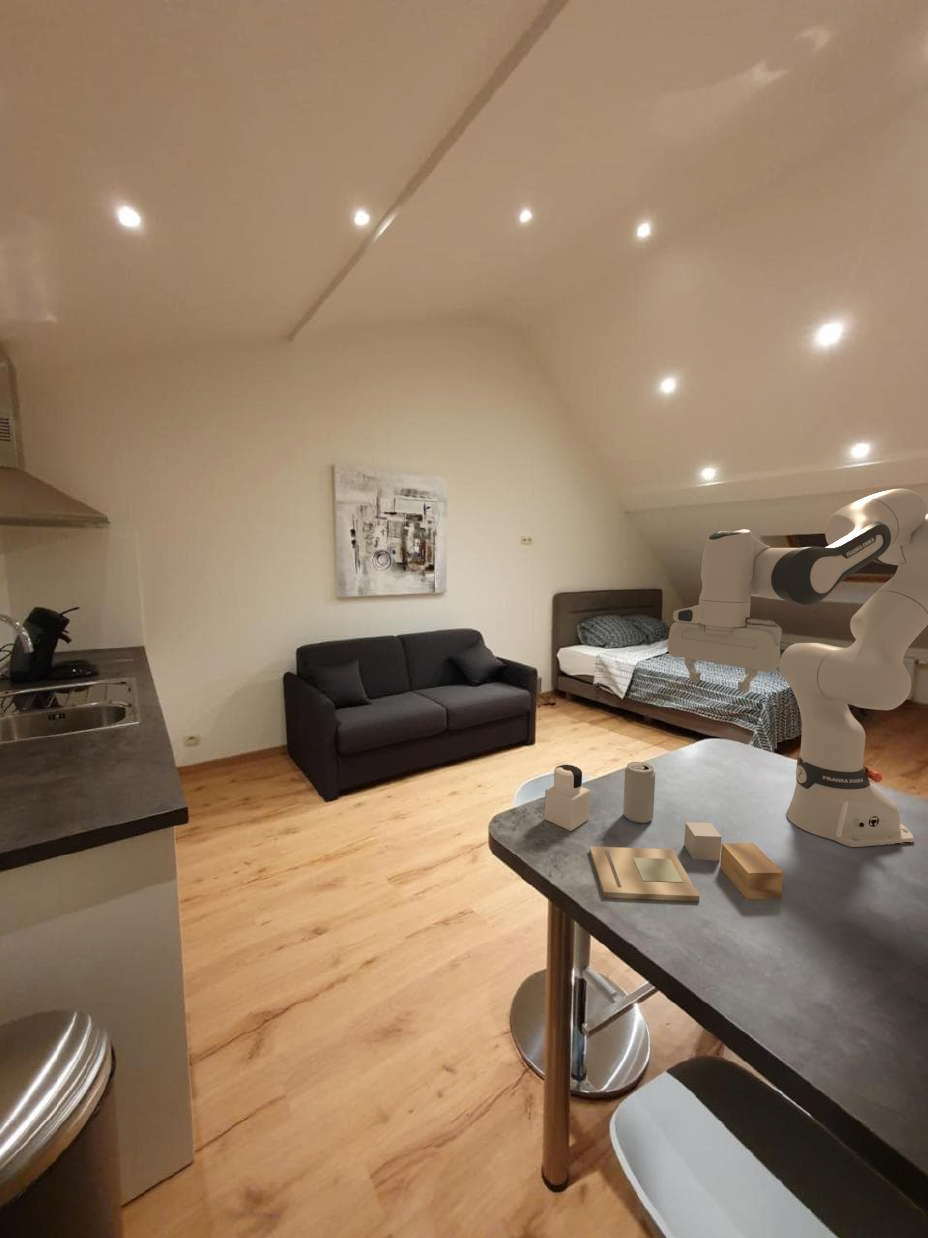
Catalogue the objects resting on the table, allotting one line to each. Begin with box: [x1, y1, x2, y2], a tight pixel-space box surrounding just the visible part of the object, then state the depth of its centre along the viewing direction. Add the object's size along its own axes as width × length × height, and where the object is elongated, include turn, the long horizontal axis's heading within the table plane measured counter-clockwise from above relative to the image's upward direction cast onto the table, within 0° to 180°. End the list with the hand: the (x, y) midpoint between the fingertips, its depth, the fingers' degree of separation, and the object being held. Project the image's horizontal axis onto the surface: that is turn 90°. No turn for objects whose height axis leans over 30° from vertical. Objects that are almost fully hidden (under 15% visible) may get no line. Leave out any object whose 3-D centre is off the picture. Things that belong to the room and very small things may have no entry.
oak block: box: [719, 842, 784, 900], centre depth 94 cm, size 6×9×5 cm, turn 1°
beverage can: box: [622, 761, 656, 824], centre depth 117 cm, size 6×6×12 cm
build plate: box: [589, 845, 700, 902], centre depth 97 cm, size 16×14×1 cm
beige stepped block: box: [544, 764, 591, 832], centre depth 116 cm, size 7×7×12 cm
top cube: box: [683, 821, 722, 861], centre depth 104 cm, size 5×5×5 cm
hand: (718, 685), depth 102 cm, fingers open, 8 cm apart
